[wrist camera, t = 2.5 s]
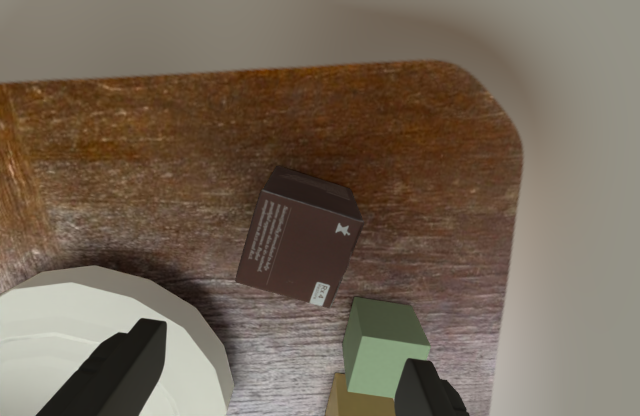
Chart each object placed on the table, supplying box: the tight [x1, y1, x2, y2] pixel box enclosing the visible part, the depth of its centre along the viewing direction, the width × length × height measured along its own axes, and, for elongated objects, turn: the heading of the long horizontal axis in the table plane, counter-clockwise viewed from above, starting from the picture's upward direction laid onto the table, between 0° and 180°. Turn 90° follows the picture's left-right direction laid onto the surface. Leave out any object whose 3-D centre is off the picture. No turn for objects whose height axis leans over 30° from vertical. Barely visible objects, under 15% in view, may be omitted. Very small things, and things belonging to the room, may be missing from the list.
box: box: [235, 166, 364, 308], centre depth 22 cm, size 6×6×7 cm
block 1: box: [342, 297, 431, 398], centre depth 26 cm, size 5×5×5 cm
